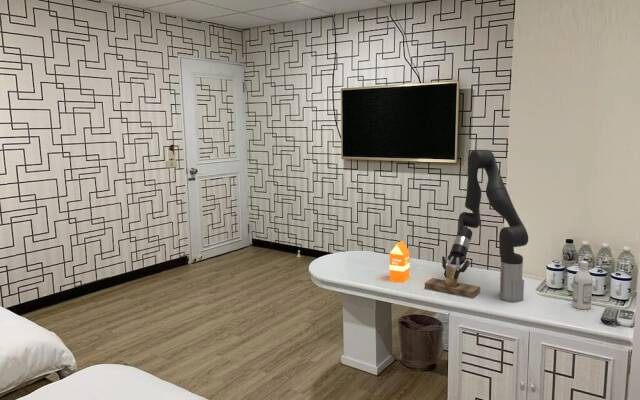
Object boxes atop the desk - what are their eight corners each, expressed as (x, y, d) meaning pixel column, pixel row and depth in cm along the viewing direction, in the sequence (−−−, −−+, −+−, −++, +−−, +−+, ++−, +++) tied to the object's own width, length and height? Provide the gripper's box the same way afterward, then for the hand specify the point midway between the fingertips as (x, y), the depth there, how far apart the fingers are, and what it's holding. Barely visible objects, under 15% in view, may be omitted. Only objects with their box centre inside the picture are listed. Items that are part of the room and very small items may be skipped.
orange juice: (409, 278, 247) (409, 240, 244) (403, 283, 239) (403, 244, 236) (395, 276, 251) (395, 239, 248) (389, 280, 243) (389, 243, 240)
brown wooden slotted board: (480, 292, 222) (480, 286, 222) (473, 298, 215) (473, 292, 215) (432, 283, 237) (432, 278, 236) (424, 288, 230) (424, 282, 229)
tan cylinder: (457, 285, 226) (457, 265, 225) (454, 287, 223) (454, 267, 222) (449, 283, 229) (449, 263, 227) (445, 286, 226) (446, 265, 224)
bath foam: (592, 306, 202) (595, 261, 199) (588, 311, 197) (591, 265, 194) (575, 302, 207) (577, 258, 204) (570, 307, 202) (572, 262, 199)
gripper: (444, 241, 233) (433, 271, 226) (472, 245, 224) (462, 276, 217) (448, 249, 238) (438, 278, 231) (476, 253, 229) (466, 284, 222)
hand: (450, 277), depth 224 cm, fingers closed on tan cylinder, 4 cm apart
